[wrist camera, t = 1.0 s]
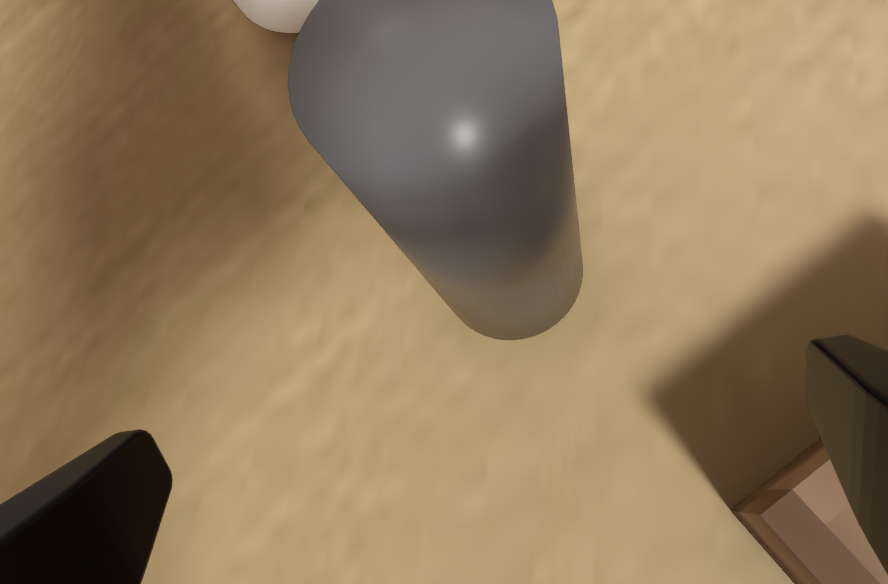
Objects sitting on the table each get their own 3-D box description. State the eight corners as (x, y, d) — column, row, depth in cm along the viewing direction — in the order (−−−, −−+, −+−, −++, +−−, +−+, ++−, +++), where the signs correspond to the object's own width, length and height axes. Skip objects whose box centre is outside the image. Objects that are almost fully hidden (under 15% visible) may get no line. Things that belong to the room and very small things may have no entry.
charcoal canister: (499, 369, 22) (385, 237, 11) (416, 265, 24) (242, 57, 13) (613, 277, 22) (622, 46, 11) (522, 180, 24) (444, -106, 13)
